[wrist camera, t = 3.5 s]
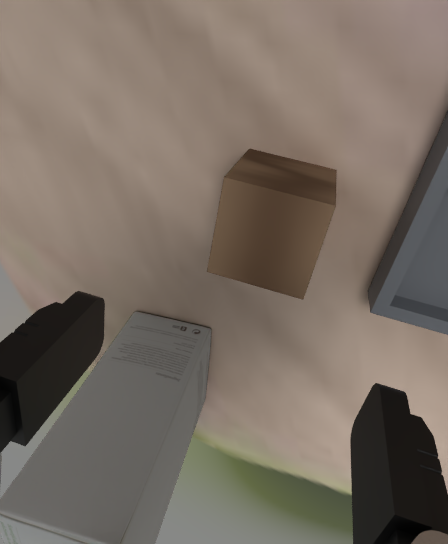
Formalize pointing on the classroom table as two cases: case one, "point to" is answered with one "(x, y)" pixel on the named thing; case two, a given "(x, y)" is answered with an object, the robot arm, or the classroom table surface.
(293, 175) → the block
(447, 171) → the tray
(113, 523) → the skincare box
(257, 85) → the classroom table surface
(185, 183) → the classroom table surface
